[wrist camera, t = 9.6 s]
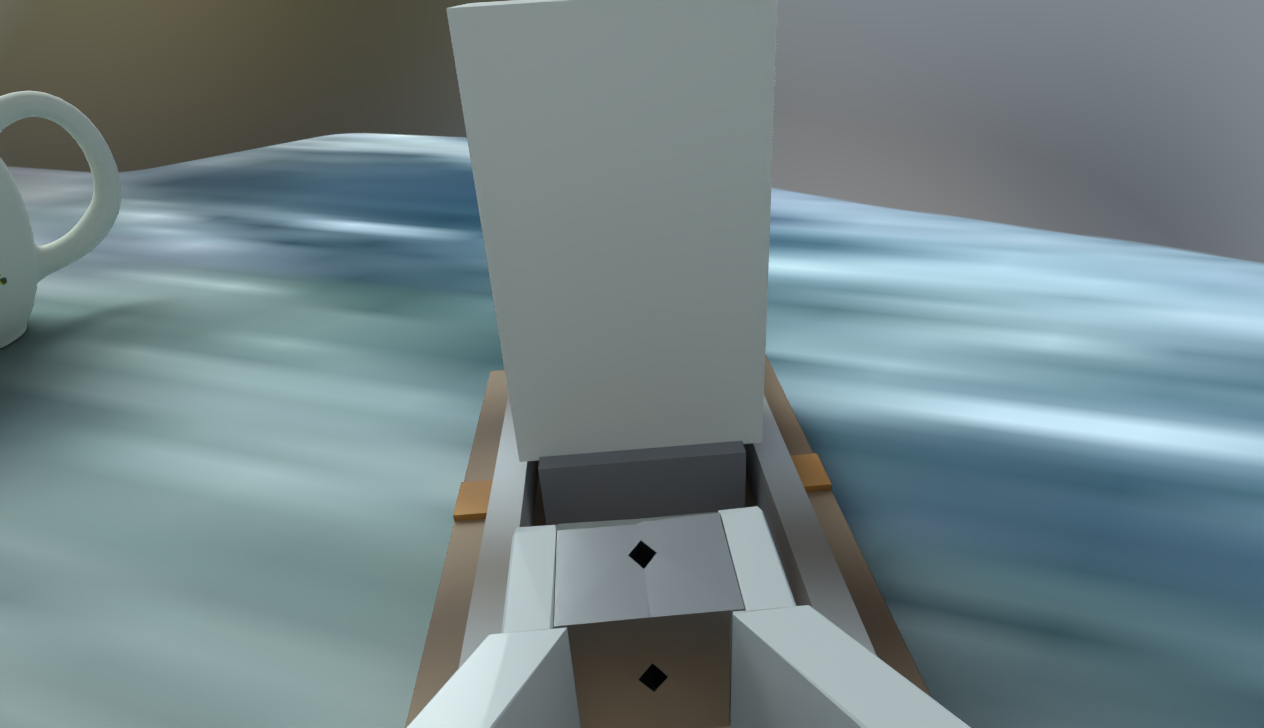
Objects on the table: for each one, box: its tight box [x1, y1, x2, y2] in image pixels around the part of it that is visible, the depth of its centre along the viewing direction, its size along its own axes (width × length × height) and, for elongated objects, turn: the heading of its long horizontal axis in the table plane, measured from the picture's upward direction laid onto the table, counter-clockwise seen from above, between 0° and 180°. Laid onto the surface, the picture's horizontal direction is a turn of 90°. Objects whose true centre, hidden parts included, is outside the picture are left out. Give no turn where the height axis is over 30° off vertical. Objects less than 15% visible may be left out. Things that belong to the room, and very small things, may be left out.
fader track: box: [405, 354, 931, 728], centre depth 15 cm, size 25×10×4 cm, turn 3°
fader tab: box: [447, 0, 778, 526], centre depth 17 cm, size 4×6×12 cm, turn 93°
